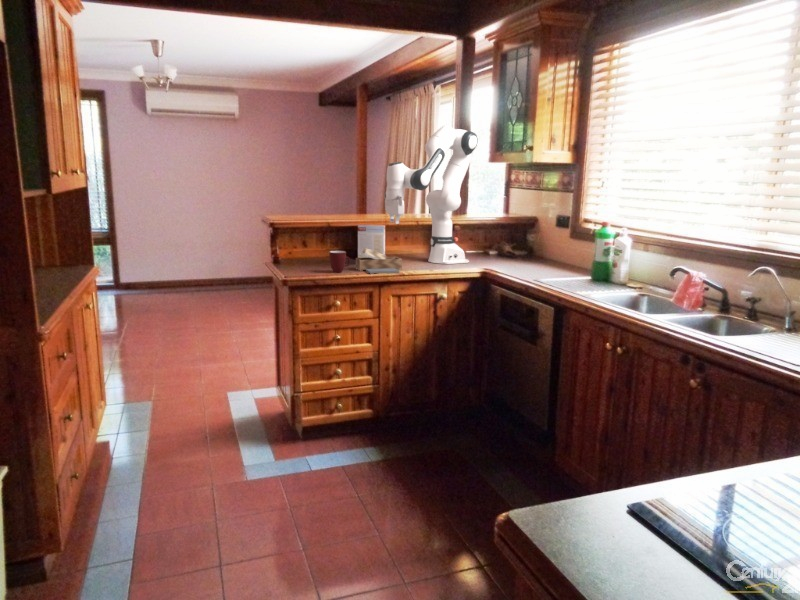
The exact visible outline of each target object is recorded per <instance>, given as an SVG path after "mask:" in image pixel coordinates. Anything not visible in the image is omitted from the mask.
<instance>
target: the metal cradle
mask: <svg viewBox="0 0 800 600" xmlns="http://www.w3.org/2000/svg"><path fill="white" fill-rule="evenodd" d="M361 254H362V255H364V256H367V257H370V258H373V259H379V258H376V257H373V256H371V255H368V254H365V253H363V252H361Z"/></svg>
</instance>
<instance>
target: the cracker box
mask: <svg viewBox="0 0 800 600" xmlns="http://www.w3.org/2000/svg"><path fill="white" fill-rule="evenodd" d="M364 248H367V249H369V250H372V251H375V252H378V253H381V254H383V255H386V224H358V225H357V258H370V257H367V256H364V255H362V254H361V252H363V250H364Z"/></svg>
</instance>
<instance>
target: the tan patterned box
mask: <svg viewBox="0 0 800 600" xmlns="http://www.w3.org/2000/svg"><path fill="white" fill-rule="evenodd" d="M356 268H357V269H358V270H357V269H356ZM385 268H395V269H397V270H399V271H401V270H400V269H402V270H403V259H402V258H401V257H398V256H386V258H385V259H373V258H358V257H355V269H356V270H357V271H359V270H360V271H359V272H364V271H363V270H366V269H385Z"/></svg>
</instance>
